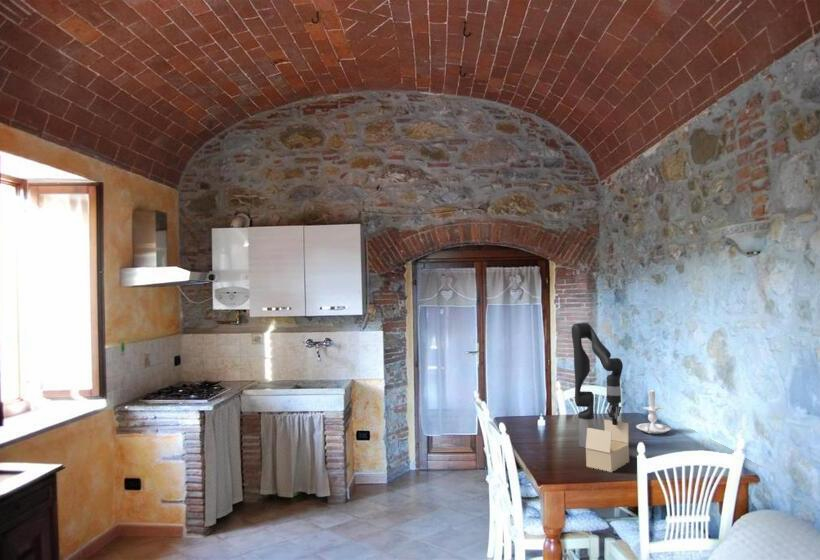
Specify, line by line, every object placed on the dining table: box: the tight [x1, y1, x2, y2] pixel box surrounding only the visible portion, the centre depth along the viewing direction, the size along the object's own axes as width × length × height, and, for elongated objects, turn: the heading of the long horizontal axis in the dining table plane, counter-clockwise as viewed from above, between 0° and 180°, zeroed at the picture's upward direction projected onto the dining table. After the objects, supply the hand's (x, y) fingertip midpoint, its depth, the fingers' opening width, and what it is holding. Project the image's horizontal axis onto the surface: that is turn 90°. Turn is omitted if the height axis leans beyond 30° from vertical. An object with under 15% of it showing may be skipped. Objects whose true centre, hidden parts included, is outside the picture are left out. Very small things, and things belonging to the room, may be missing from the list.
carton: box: [585, 441, 630, 474], centre depth 287 cm, size 22×14×10 cm, turn 134°
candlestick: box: [635, 389, 671, 435], centre depth 343 cm, size 21×25×28 cm
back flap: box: [603, 419, 630, 444], centre depth 296 cm, size 11×14×1 cm
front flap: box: [585, 428, 612, 453], centre depth 281 cm, size 11×14×1 cm
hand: (614, 424), depth 295 cm, fingers closed
